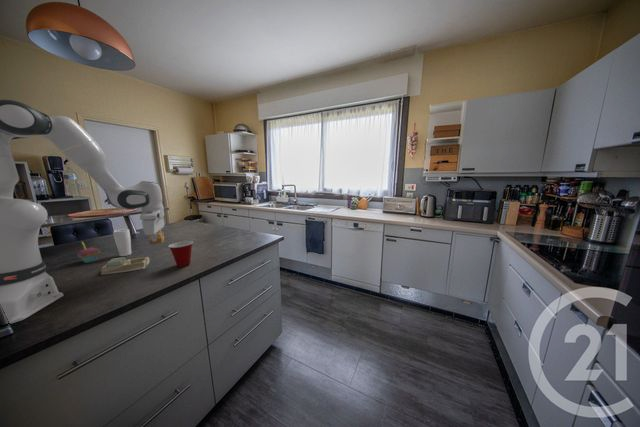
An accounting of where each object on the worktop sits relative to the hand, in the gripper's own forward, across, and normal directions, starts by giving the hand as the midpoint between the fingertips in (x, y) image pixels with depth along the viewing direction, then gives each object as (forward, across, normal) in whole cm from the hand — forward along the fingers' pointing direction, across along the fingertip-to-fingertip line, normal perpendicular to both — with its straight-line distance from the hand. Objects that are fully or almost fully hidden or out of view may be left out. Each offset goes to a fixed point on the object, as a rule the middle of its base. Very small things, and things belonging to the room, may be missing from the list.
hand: (156, 239), depth 109 cm
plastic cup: (+14, +6, +12) cm, 19 cm away
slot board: (+14, 0, -14) cm, 19 cm away
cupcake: (+14, -20, -36) cm, 43 cm away
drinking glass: (+14, -22, -22) cm, 34 cm away
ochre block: (+2, 0, 0) cm, 2 cm away
